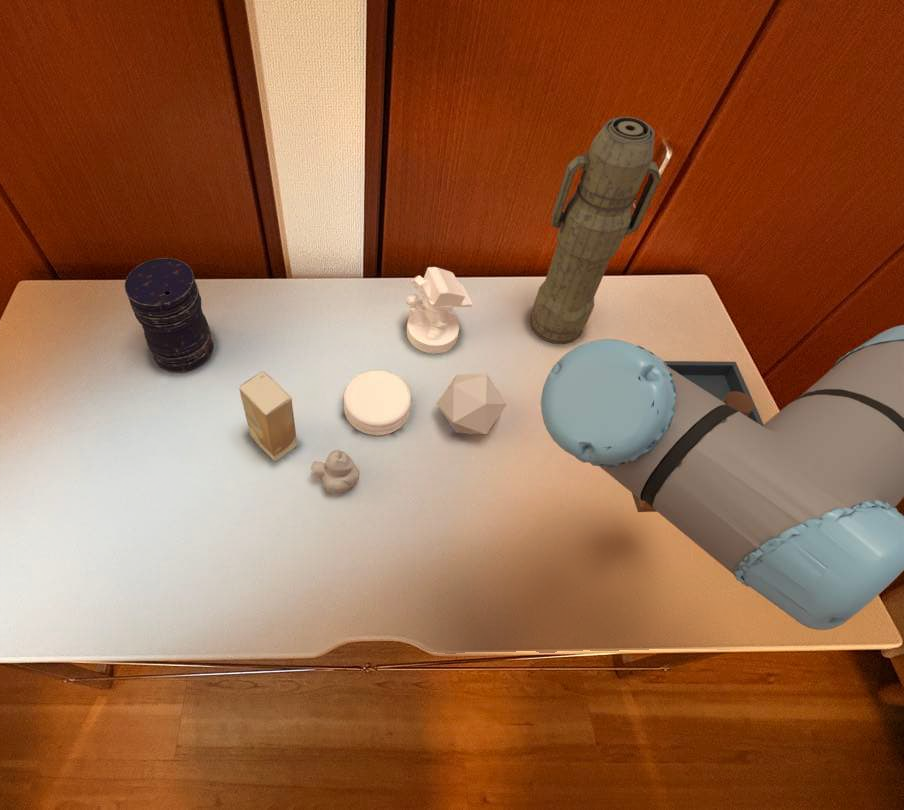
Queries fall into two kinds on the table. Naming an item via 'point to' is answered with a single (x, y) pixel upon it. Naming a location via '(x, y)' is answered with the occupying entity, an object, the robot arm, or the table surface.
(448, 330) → the character figurine
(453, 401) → the die
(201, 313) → the dark blue cylinder
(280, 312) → the table surface
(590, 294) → the thermos
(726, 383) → the tray
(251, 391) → the cosmetic box
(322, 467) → the rubber duck
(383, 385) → the coaster
